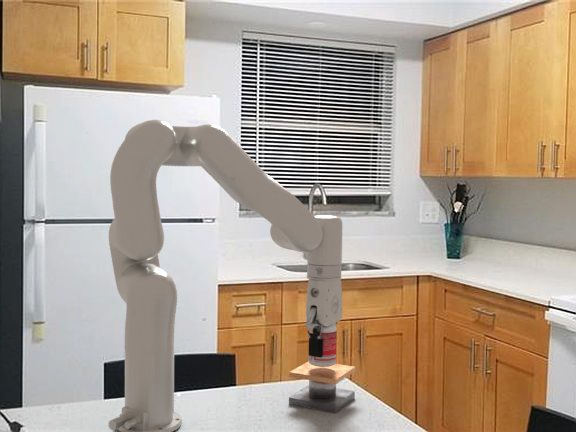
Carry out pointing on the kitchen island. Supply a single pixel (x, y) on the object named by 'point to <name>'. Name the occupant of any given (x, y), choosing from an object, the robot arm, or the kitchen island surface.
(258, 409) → the kitchen island surface
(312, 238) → the robot arm
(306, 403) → the stand
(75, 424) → the kitchen island surface
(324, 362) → the pill bottle
